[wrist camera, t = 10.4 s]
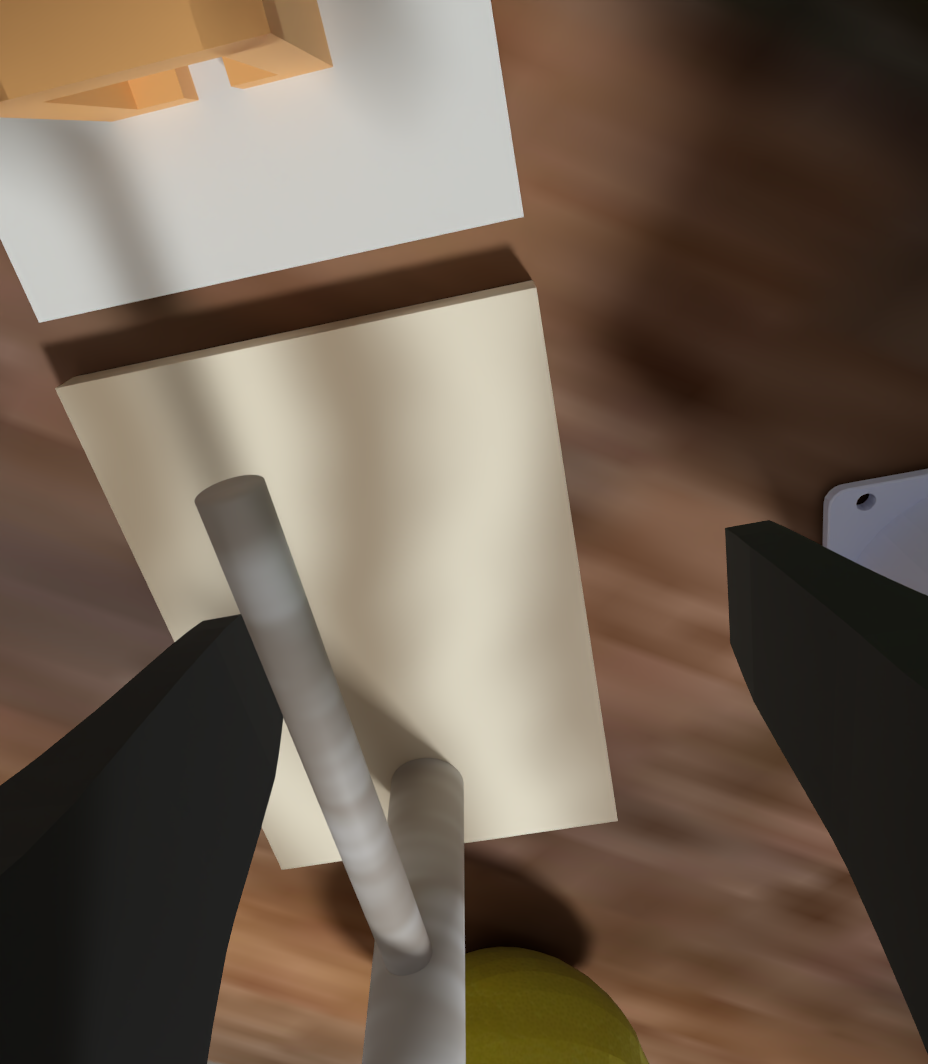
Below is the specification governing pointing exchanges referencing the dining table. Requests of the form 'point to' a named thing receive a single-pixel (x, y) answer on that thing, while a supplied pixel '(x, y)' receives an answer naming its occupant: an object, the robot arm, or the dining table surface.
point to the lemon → (540, 1013)
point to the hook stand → (379, 600)
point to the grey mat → (268, 165)
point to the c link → (145, 52)
